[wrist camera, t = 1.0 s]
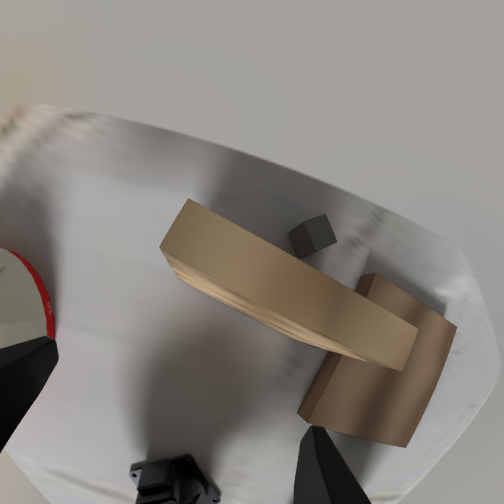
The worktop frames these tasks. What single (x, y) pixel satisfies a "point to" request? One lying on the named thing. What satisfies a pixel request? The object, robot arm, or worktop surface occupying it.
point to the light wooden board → (282, 290)
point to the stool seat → (382, 376)
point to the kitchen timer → (22, 302)
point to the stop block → (312, 236)
